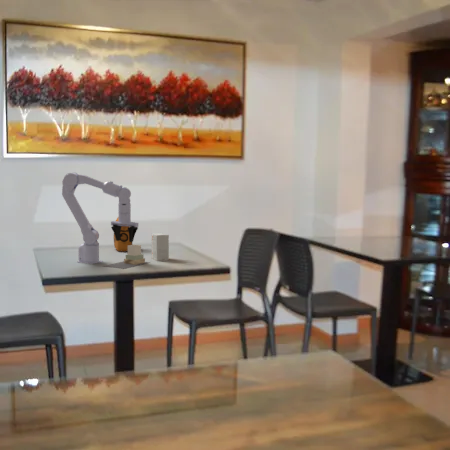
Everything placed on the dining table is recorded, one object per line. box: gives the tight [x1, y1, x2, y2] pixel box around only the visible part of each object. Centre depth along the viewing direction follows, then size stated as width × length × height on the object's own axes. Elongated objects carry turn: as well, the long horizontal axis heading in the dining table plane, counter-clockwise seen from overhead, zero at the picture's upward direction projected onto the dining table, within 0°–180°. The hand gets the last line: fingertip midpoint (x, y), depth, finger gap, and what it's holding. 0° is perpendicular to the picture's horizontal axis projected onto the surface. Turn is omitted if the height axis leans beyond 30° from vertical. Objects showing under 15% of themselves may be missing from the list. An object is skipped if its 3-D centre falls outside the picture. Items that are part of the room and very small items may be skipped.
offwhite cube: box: [127, 243, 142, 256], centre depth 279 cm, size 4×4×4 cm
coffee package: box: [113, 216, 133, 252], centre depth 320 cm, size 10×12×22 cm
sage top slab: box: [125, 253, 145, 260], centre depth 279 cm, size 6×6×2 cm
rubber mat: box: [103, 260, 151, 270], centre depth 275 cm, size 13×20×1 cm, turn 150°
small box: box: [151, 232, 170, 262], centre depth 290 cm, size 8×6×13 cm
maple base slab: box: [123, 257, 146, 265], centre depth 279 cm, size 7×7×2 cm
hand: (124, 241), depth 281 cm, fingers open, 7 cm apart
